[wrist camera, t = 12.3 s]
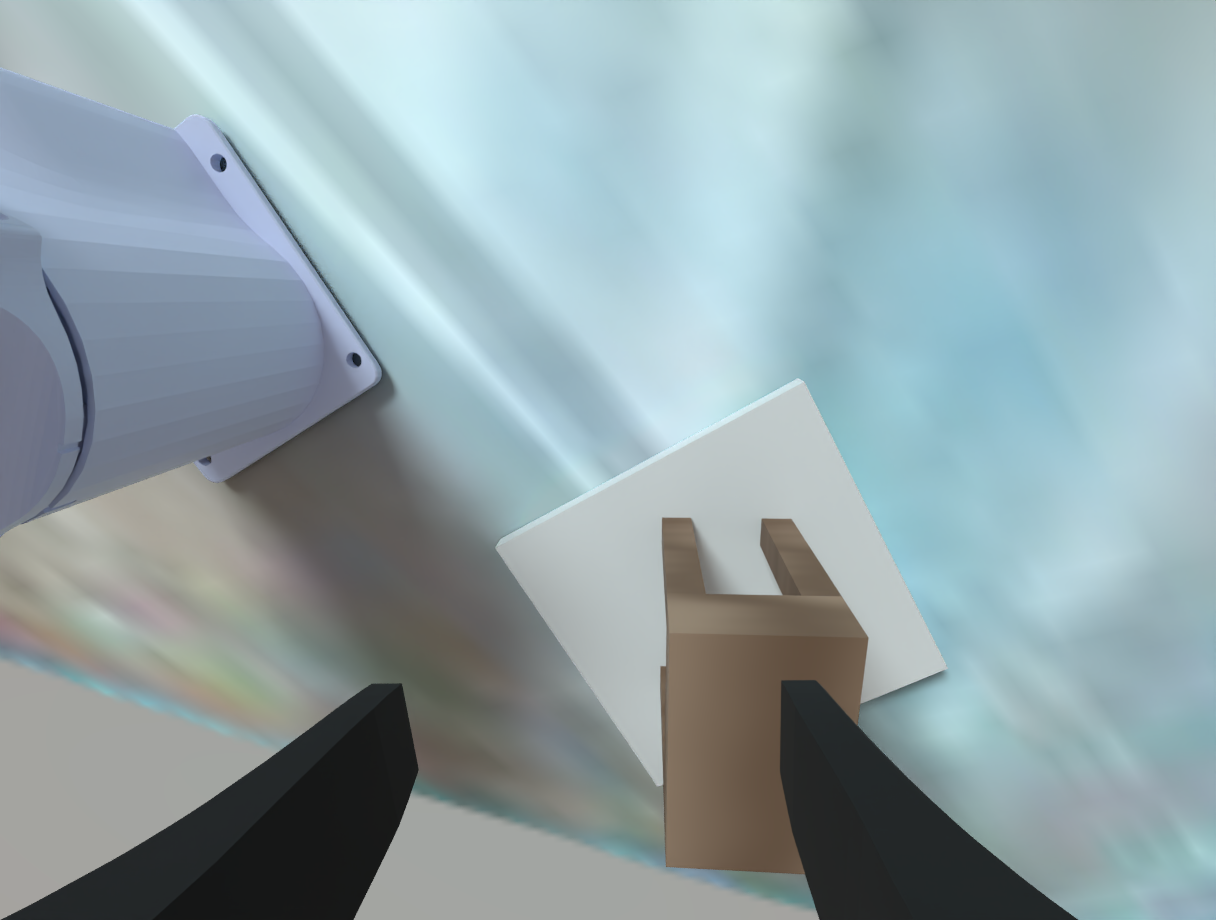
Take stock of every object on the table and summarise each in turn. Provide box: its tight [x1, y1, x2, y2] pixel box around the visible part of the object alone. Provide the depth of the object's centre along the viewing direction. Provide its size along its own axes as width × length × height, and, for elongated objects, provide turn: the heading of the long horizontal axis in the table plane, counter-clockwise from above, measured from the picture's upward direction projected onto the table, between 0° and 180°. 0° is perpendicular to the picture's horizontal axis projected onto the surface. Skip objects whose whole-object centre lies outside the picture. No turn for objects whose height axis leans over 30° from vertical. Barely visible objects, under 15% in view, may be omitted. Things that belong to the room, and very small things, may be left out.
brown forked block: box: [660, 517, 869, 874], centre depth 17 cm, size 4×7×7 cm, turn 1°
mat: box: [495, 378, 948, 786], centre depth 21 cm, size 12×12×1 cm
